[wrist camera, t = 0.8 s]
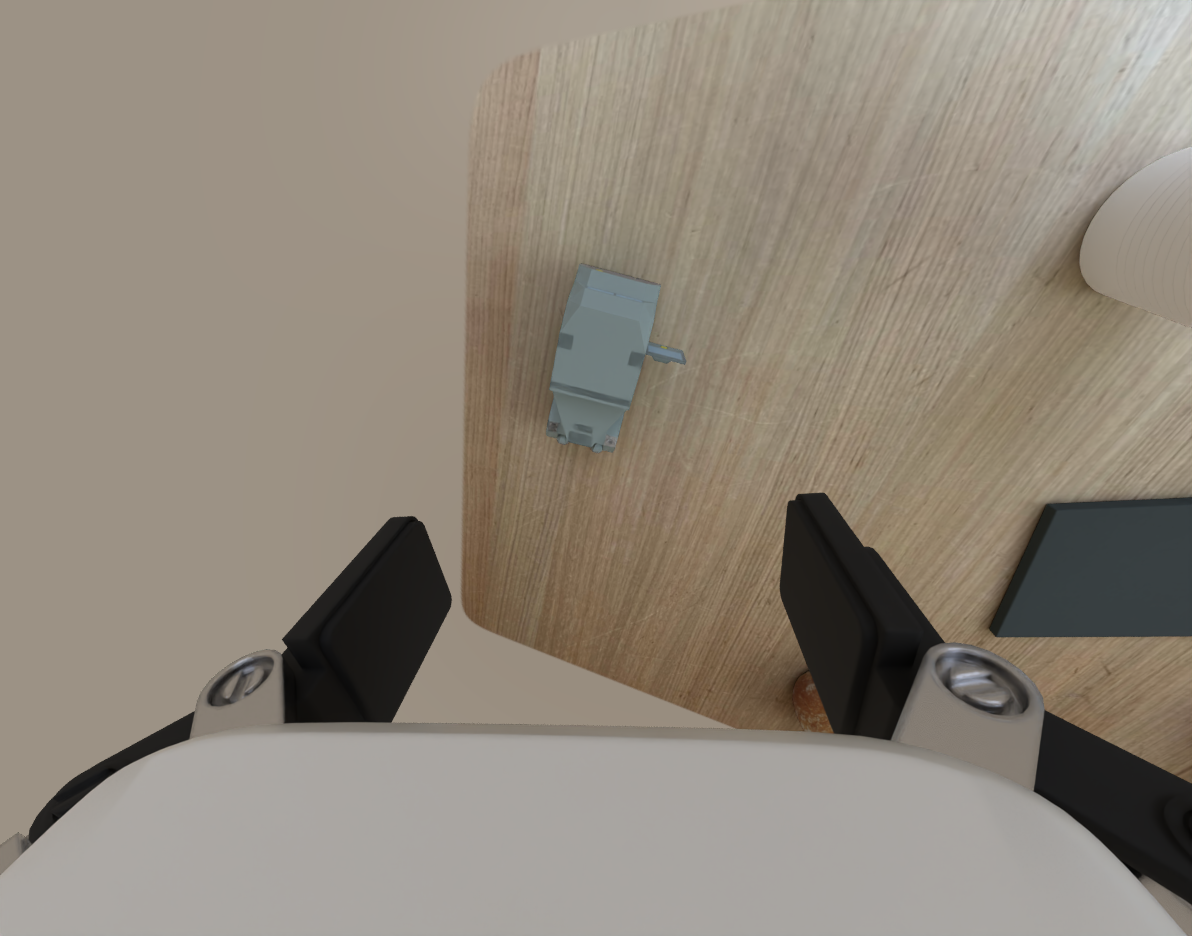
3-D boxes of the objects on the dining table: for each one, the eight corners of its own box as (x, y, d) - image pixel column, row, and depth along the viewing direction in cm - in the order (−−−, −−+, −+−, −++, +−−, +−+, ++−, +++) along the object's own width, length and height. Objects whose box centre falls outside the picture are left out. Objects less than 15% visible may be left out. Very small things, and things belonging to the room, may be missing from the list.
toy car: (552, 423, 28) (536, 457, 24) (584, 261, 23) (571, 269, 19) (645, 446, 29) (645, 484, 24) (696, 291, 24) (708, 305, 19)
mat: (1046, 503, 28) (1058, 511, 27) (1391, 488, 25) (1415, 496, 25) (988, 629, 34) (996, 638, 33) (1265, 627, 31) (1281, 637, 30)
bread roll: (880, 620, 39) (915, 669, 31) (929, 724, 39) (977, 798, 31) (773, 649, 42) (781, 700, 35) (817, 745, 42) (836, 817, 34)
